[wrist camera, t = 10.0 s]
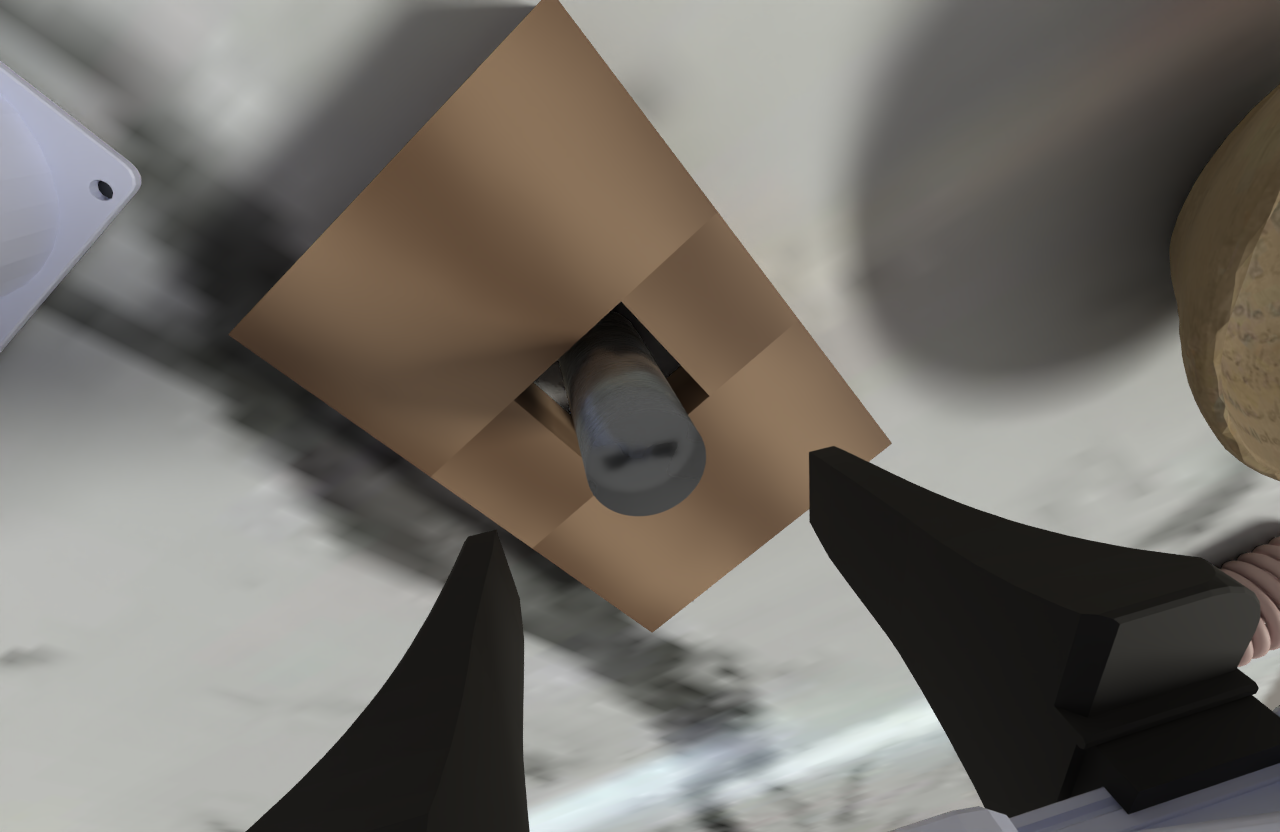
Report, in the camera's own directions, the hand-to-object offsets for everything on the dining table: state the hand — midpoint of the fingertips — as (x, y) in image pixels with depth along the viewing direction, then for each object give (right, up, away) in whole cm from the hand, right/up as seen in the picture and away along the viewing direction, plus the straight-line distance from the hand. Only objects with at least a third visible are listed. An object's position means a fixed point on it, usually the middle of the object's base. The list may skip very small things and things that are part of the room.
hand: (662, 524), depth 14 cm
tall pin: (-2, +5, +8) cm, 10 cm away
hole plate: (-2, +4, +8) cm, 10 cm away
